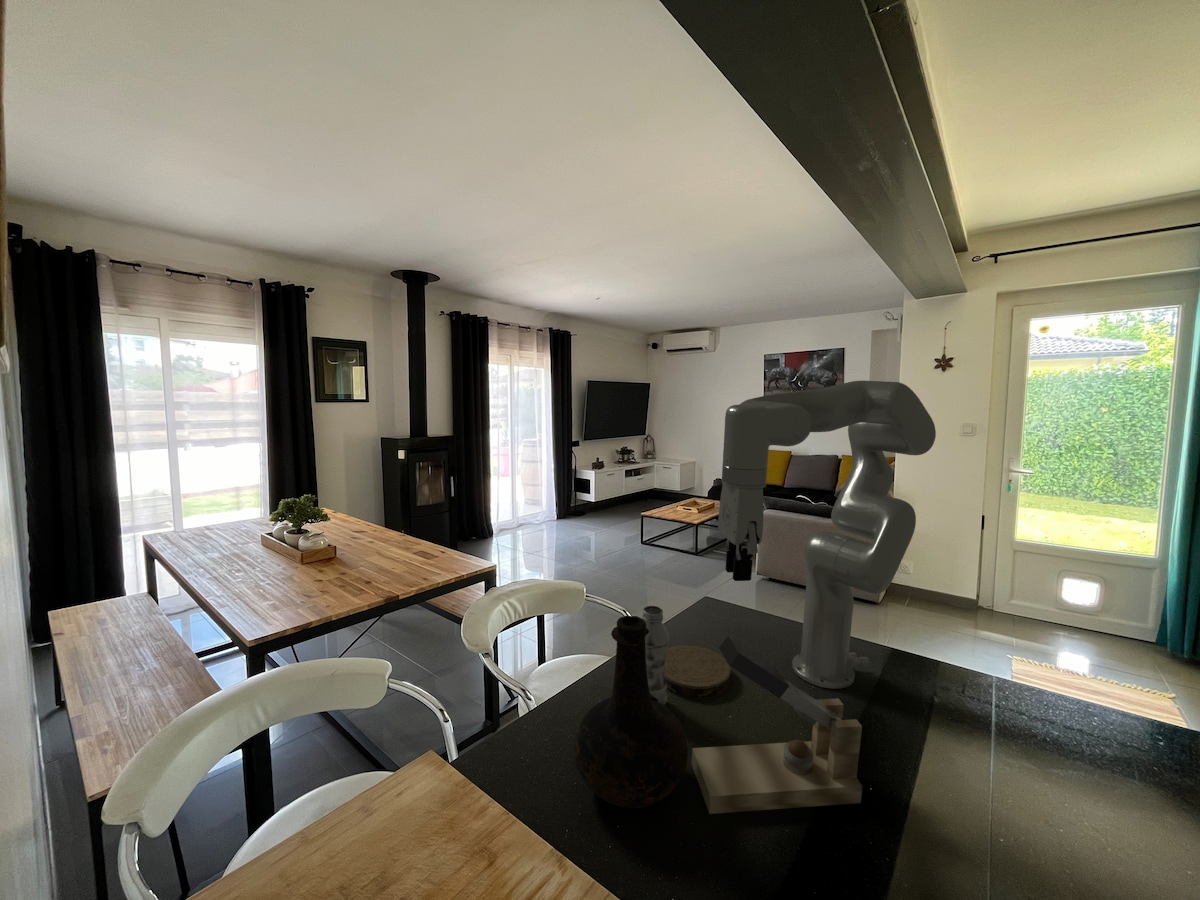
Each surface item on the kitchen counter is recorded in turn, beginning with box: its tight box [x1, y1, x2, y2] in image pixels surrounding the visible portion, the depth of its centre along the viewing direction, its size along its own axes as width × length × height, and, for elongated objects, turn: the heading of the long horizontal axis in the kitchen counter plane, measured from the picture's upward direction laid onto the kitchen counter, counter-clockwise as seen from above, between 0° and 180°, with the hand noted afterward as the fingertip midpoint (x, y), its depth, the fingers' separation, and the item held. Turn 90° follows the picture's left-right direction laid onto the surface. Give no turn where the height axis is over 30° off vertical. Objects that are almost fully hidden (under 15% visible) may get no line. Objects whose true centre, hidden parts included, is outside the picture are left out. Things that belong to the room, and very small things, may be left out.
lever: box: [718, 635, 841, 730], centre depth 83 cm, size 23×5×3 cm
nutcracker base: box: [691, 698, 863, 815], centre depth 85 cm, size 24×10×12 cm, turn 96°
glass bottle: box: [573, 615, 689, 809], centre depth 83 cm, size 18×18×28 cm
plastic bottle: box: [642, 605, 670, 706], centre depth 103 cm, size 6×7×20 cm
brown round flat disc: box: [665, 644, 731, 700], centre depth 114 cm, size 16×16×3 cm
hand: (738, 575), depth 95 cm, fingers open, 3 cm apart
